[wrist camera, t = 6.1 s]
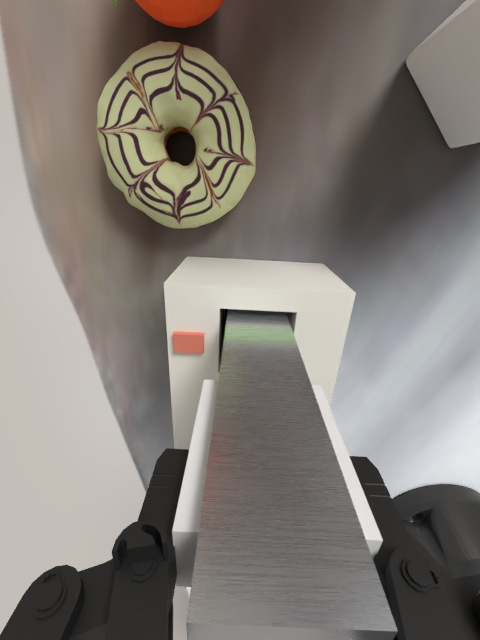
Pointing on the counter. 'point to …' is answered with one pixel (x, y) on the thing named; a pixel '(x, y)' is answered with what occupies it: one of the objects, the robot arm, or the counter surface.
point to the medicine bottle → (452, 75)
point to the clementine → (179, 11)
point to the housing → (248, 294)
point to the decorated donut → (169, 117)
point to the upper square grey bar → (278, 506)
